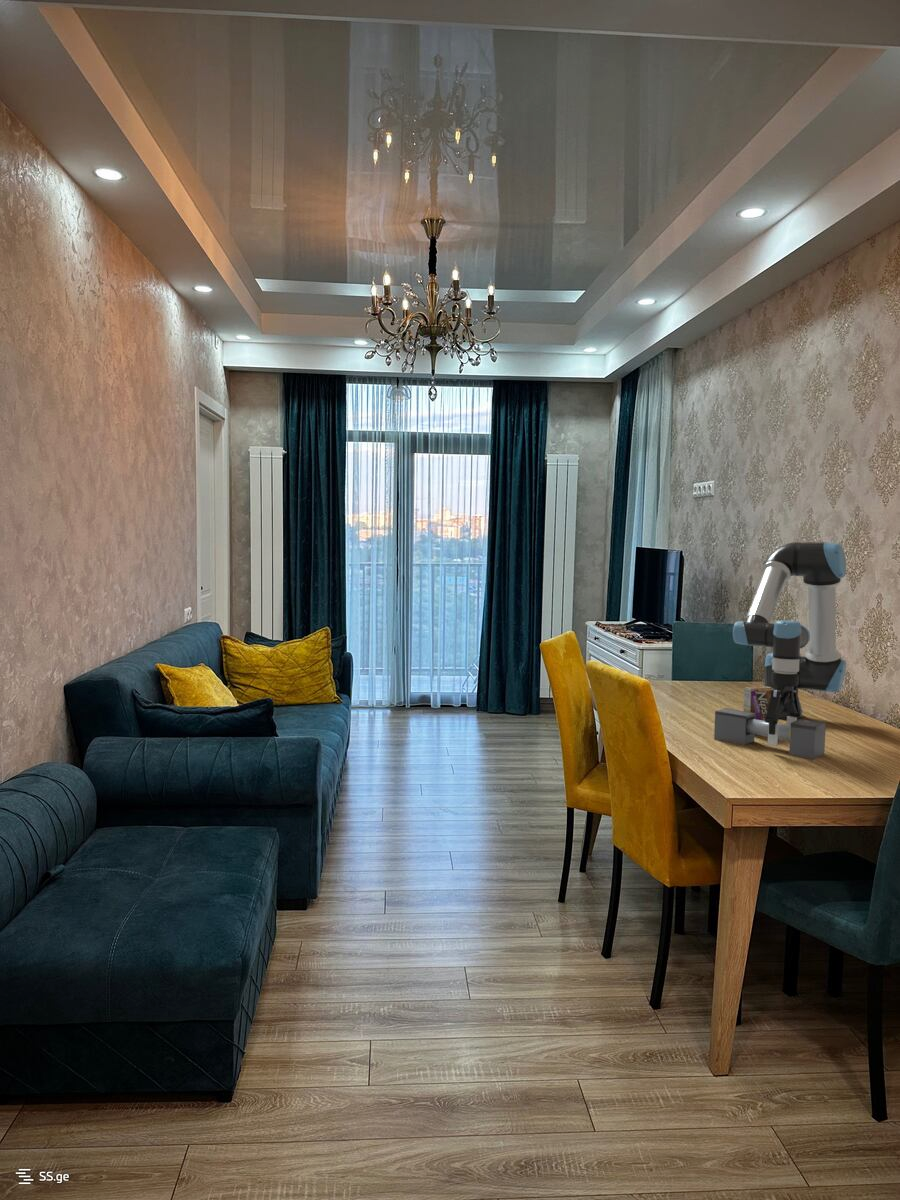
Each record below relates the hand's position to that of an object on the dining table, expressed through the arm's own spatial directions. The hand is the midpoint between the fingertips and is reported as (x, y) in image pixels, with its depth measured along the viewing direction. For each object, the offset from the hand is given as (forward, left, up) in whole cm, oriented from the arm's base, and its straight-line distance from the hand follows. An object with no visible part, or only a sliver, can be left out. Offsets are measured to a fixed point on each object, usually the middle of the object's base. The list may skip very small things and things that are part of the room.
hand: (781, 741), depth 240 cm
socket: (0, +8, -2) cm, 8 cm away
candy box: (-15, -14, -3) cm, 21 cm away
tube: (0, -2, 0) cm, 2 cm away
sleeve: (0, -15, -2) cm, 15 cm away
